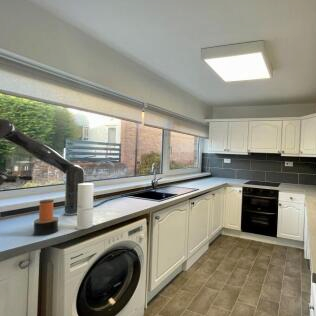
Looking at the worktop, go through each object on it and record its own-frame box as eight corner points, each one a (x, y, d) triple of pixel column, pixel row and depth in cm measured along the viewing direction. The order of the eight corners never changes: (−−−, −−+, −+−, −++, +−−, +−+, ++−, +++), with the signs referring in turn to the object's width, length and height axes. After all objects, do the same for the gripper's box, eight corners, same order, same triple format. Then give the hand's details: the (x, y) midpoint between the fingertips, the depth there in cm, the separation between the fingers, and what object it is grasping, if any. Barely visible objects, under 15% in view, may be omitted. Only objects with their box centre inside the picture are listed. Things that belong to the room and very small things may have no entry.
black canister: (52, 227, 109) (52, 215, 109) (61, 231, 106) (61, 218, 106) (29, 233, 101) (30, 220, 101) (38, 237, 97) (39, 223, 97)
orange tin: (50, 217, 107) (50, 199, 106) (55, 218, 104) (55, 200, 104) (36, 219, 102) (37, 200, 102) (41, 221, 100) (42, 202, 99)
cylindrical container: (82, 224, 116) (83, 182, 116) (95, 224, 117) (96, 183, 116) (73, 229, 109) (74, 184, 109) (86, 229, 110) (88, 185, 109)
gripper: (-28, 172, 93) (10, 173, 95) (4, 169, 107) (37, 170, 109) (-29, 188, 93) (9, 188, 95) (4, 183, 107) (36, 184, 109)
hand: (24, 179), depth 102 cm, fingers open, 8 cm apart
